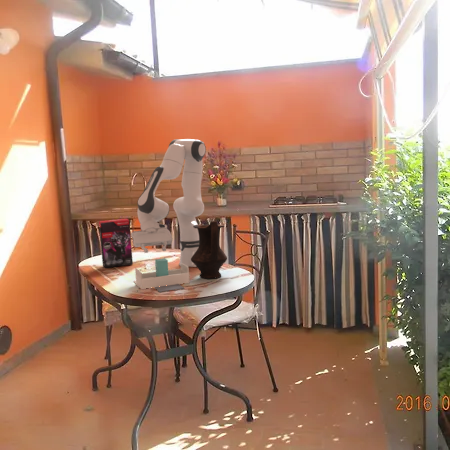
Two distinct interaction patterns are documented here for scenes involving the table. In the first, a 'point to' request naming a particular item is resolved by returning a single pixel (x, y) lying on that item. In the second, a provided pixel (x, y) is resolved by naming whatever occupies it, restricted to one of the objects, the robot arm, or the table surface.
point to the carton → (162, 278)
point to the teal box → (161, 267)
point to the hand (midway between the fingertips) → (155, 251)
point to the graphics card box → (115, 243)
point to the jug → (209, 251)
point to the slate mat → (169, 287)
